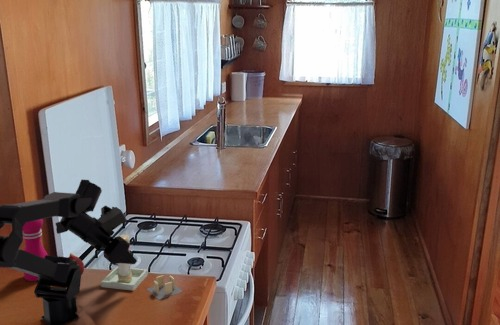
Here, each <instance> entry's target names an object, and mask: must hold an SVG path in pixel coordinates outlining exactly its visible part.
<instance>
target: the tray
mask: <svg viewBox="0 0 500 325" xmlns="http://www.w3.org/2000/svg"><path fill="white" fill-rule="evenodd" d="M130 269H131V273H132V281H131V282H130V283H120V282H118V266H116V267H114V269H113V270H112V271H111V272H109V273H108V274H107V275H106V276H105V277H104V278H103V279H102V280H101V281H100V287H101V288H106V289H107V288H108V289H115V290H116V289H117V290H124V291H125V290H126V291H133V292H134V291H135V290H136V289H137V288H138V287H139V286H140V285H141V283H142V282H143V281H144V280H145V279H146V278H147V277H148V276H149V270H148V269H145V268H143V269H142V268H133V267H130Z"/></svg>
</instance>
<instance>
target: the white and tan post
mask: <svg viewBox="0 0 500 325" xmlns="http://www.w3.org/2000/svg"><path fill="white" fill-rule="evenodd" d="M118 236H120V237H121V238H123V239H124V240H126V241H127V242H128V243H130V236H129V235H127V234H119V235H117V236H116V237H118ZM130 244H131V243H130ZM130 250H131V249H130V247H129V248H128V251H129V252H130ZM117 267H118V282H120V283H130V282H131V281H132V273H131V269H130V268H131V264H125V263H117Z"/></svg>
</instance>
